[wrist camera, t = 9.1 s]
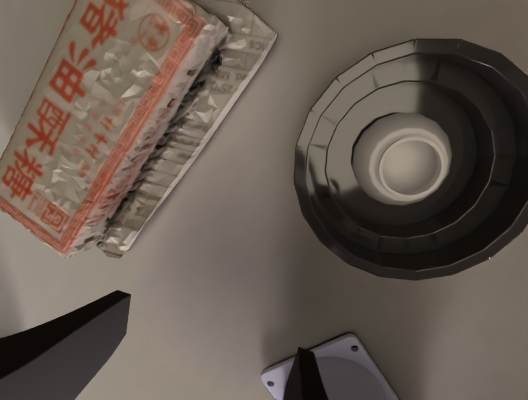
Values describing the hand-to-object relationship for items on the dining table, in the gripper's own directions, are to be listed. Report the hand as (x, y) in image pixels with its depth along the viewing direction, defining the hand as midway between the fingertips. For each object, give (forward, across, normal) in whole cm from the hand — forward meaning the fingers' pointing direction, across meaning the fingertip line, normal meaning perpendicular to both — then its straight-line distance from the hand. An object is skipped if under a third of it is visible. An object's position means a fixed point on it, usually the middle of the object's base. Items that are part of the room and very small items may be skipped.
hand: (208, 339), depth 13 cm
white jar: (+9, -7, -8) cm, 14 cm away
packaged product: (+10, +9, -7) cm, 15 cm away
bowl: (+9, -7, -8) cm, 14 cm away
